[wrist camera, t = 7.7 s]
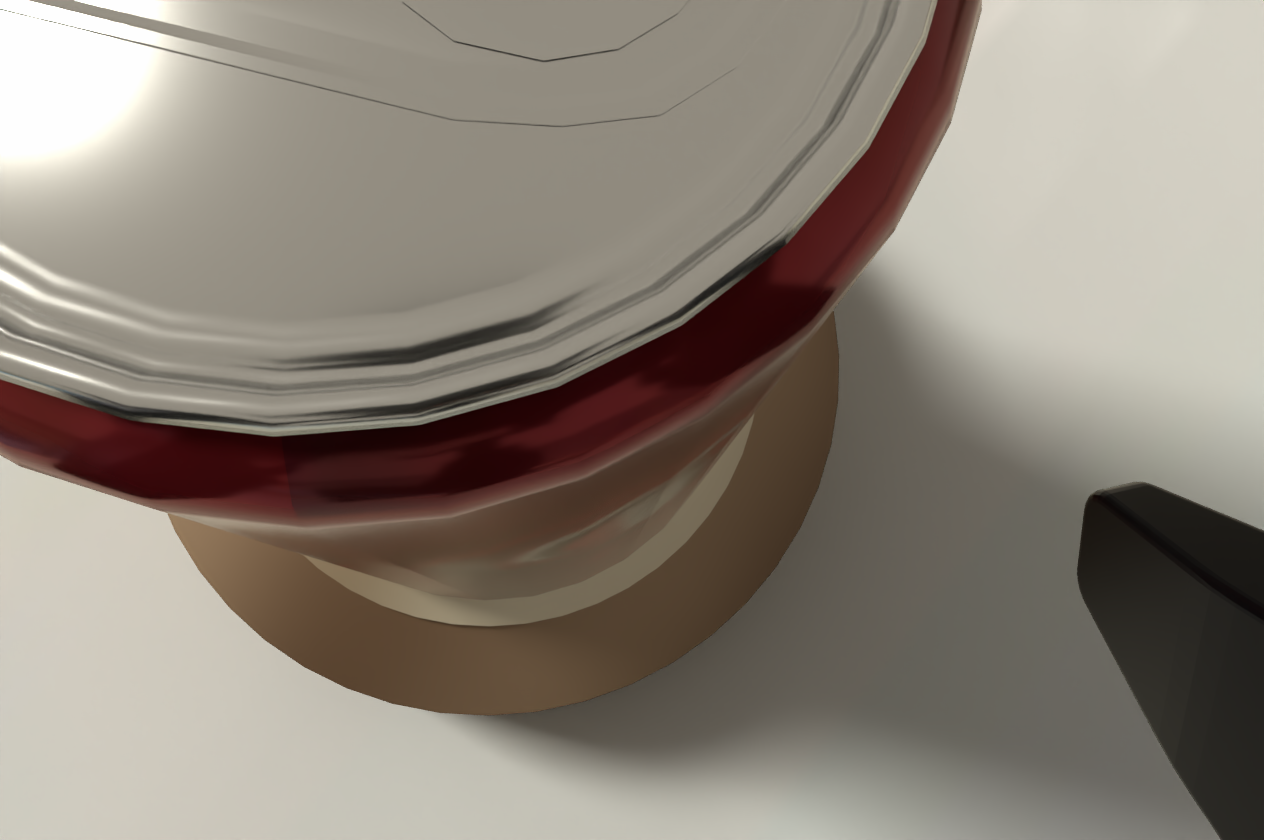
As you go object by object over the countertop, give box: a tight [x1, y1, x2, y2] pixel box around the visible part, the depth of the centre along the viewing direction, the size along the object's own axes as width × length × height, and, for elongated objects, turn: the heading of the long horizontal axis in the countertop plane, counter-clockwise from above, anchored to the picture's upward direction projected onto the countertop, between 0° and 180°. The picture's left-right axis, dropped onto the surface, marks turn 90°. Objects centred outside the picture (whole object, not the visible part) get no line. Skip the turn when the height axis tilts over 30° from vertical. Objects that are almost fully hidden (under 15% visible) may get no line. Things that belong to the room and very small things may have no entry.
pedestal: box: [168, 311, 839, 715], centre depth 19 cm, size 11×11×3 cm
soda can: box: [0, 0, 982, 601], centre depth 11 cm, size 7×7×12 cm
